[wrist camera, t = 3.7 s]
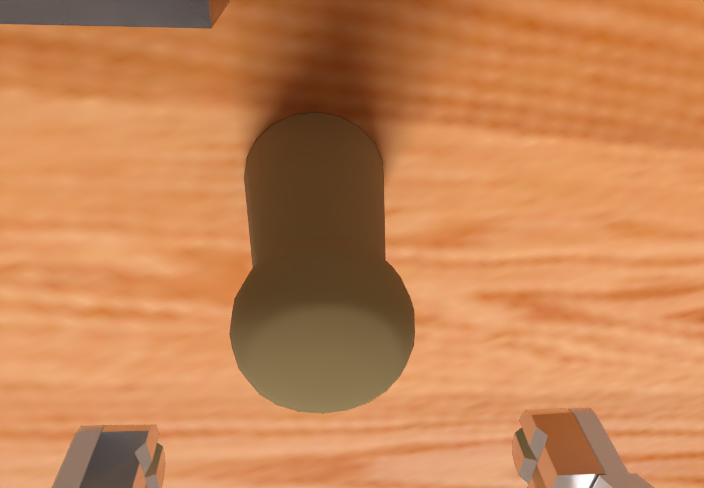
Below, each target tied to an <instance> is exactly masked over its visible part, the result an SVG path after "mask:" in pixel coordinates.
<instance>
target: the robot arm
mask: <svg viewBox="0 0 704 488" xmlns="http://www.w3.org/2000/svg"><path fill="white" fill-rule="evenodd" d="M519 421H520V424H521V426H522V428H521V429H519V430H518V431H517V432H515V434H514V438H513V441H512V454H513V459H514V464H515V467H516V470H517V472H518V475H519V476H520V477H521V478H523V479H524V480H525V481H526V482H527V483H528V487H527V488H654V487H653V486H652V485H650V484H649V483H648V482H646V481H645V480H644V479H642V478H641V477H640V476H639V475H637V474H636V473H629V472H628V470H627V468H626V466H625V465H624V463H623V461H622V459H621V458H620V456H619V454H618V452H617V451H616V449H615V447H614V445H613V443H612V442H611V440H610V438H609V436H608V435H607V433H606V431H605V429H604V428H603V426H602V424H601V422H600V420H599V419H598V417H597V415H596V413H595V412H594V411H593V410H592V409H591V408H574V409H566V408H560V409H541V410H525V411H524V412H523V413H522V414H521V417H520V420H519ZM158 437H159V431H158V428H157V425H97V426H81V427H80V428H79V430H78V431H77V432H76V433H75V435H74V437H73V440H72V442H71V444H70V447H69V449H68V451H67V454H66V456H65V458H64V460H63V463H62V465H61V467H60V470H59V472H58V474H57V477H56V479H55V481H54V483H53V486H52V488H162V485H163V480H164V473H165V453H164V449H163V446H161V445H160V444H158V443H157V441H158Z"/></svg>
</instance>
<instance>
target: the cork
mask: <svg viewBox="0 0 704 488" xmlns="http://www.w3.org/2000/svg"><path fill="white" fill-rule="evenodd" d="M244 182H245V192H246V202H247V213H248V223H249V233H250V244H251V254H252V264H253V268H252V270H251V272H250V273H249V275H248V277H247V278H246V280H245V282H244V283H243V285H242V287H241V288H240V290H239V292H238V294H237V295H236V297H235V300H234V306H233V311H232V318H231V326H230V339H231V345H232V349H233V352H234V356H235V359H236V362H237V365H238V368H239V370H240V371H241V372H242V374H243V375H244V376H245V378H246V379H247V380H248V381H249V382H250V384H251V385H252V386H253V387H254V388H255V390H256V391H257V392H258V393H259V394H260V395H262V396H263V397H265V398H266V399H268V400H270V401H271V402H273V403H275V404H276V405H278V406H281V407H285V408H288V409H291V410H295V411H298V412H308V413H322V414H323V413H331V412H339V411H346V410H349V409H352V408H355V407H358V406H360V405H363V404H366V403H369V402H370V401H372V400H373V399H375V398H376V397H378V396H380V395H381V394H383V393H384V392H386V391H387V390H388V389H389V388H390V387H391V385H392V384H393V383H394V382H395V381H396V380H397V379H398V378H399V376H400V375H401V373H402V371H403V370H404V368H405V366H406V364H407V362H408V359H409V357H410V354H411V352H412V349H413V346H414V337H415V321H414V308H413V305H412V302H411V299H410V296H409V294H408V292H407V290H406V288H405V286H404V284H403V281H402V279H401V277H400V276H399V275H398V273H397V272H396V271H395V269H394V268H393V267H392V266H391V265H390V264H389V263H388V262H387V261H386V260H385V215H384V177H383V162H382V159H381V157H380V155H379V152H378V150H377V148H376V146H375V143H374V142H373V141H372V140H371V139H370V138H369V137H368V136H367V134H366V133H365V132H364V131H363V130H362V129H361V128H360V127H359V126H357V125H355V124H353V123H351V122H349V121H347V120H346V119H344V118H342V117H340V116H335V115H330V114H324V113H319V112H313V113H305V114H297V115H292V116H290V117H288V118H286V119H283V120H281V121H279V122H277V123H275V124H272V125H271V126H270V127H269V128H268V129H267V130H266V131H265V132H264V133H263V134H262V135H261V136H260V137H259V138H258V139H256V141H255V143H254V145H253V147H252V149H251V151H250V153H249V155H248V157H247V160H246V168H245V176H244Z"/></svg>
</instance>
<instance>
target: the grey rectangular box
mask: <svg viewBox="0 0 704 488" xmlns="http://www.w3.org/2000/svg"><path fill="white" fill-rule="evenodd" d="M228 3H229V0H0V24H34V25H79V26H124V27H169V28H212V27H213V26H214V24H215V23H216V21H217V20H218V18H219V17H220V15H221V14H222V12H223V11H224V9H225V8H226V6H227V5H228Z"/></svg>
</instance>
